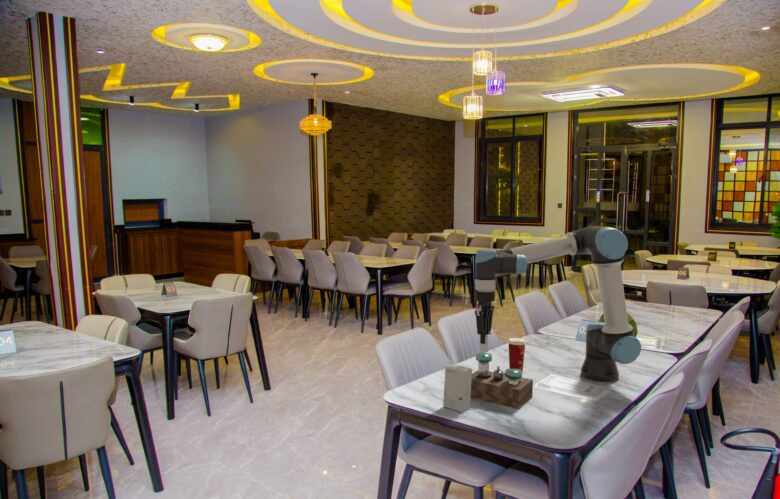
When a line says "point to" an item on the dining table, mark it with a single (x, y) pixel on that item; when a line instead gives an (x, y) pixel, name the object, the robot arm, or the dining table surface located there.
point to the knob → (483, 364)
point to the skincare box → (457, 387)
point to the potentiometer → (498, 374)
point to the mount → (501, 391)
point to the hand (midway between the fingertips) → (483, 351)
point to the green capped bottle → (513, 376)
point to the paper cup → (516, 353)
